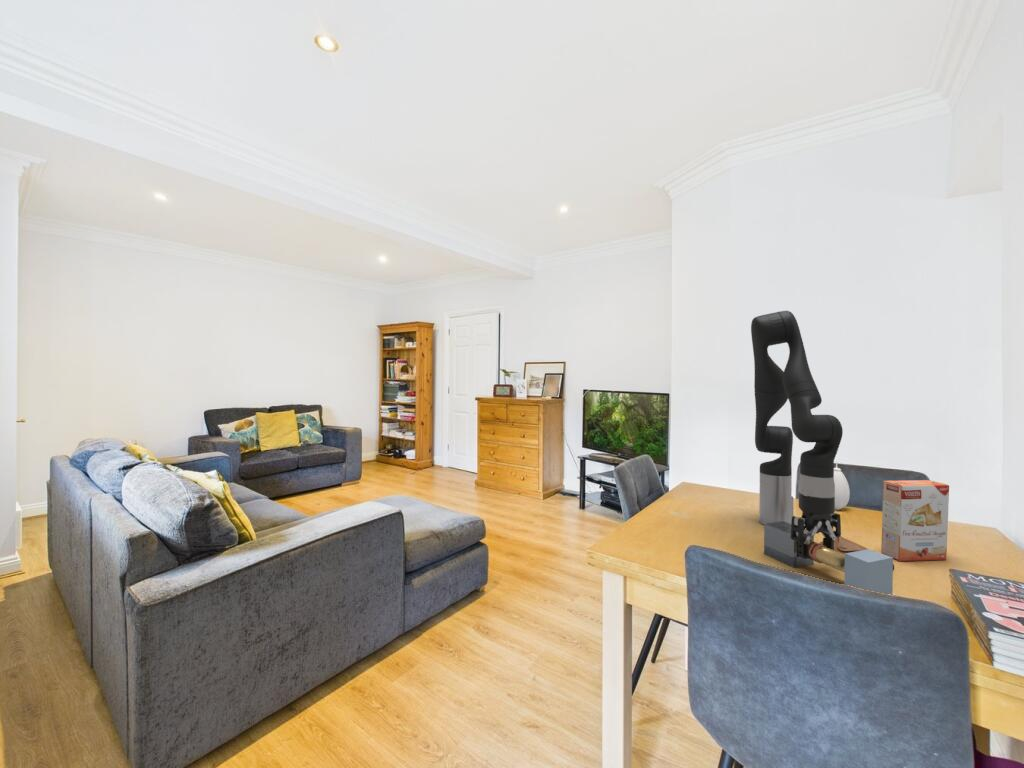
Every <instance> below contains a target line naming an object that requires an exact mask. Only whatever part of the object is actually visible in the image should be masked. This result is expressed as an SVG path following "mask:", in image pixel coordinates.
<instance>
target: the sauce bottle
mask: <svg viewBox="0 0 1024 768" xmlns="http://www.w3.org/2000/svg"><path fill="white" fill-rule="evenodd" d="M834 483H835V510H836V511H840V510H842V509H843V508H845V507H846V506H847V505H848V503H849V500H850V495H851V494H850V492H851V490H850V485H849V482H848V480H847V478H846V476H845V474H844V473H843V471H842V469H841V468H840V467H838V461H836V462H835V467H834Z"/></svg>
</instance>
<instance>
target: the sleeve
mask: <svg viewBox="0 0 1024 768" xmlns="http://www.w3.org/2000/svg"><path fill="white" fill-rule="evenodd" d="M805 531H807V529H806V528H805ZM808 532H809V531H808ZM797 535H798V532H796V536H797ZM805 537H806V535H804V536H803V538H804V539H805ZM814 539H815V536H814V537H813V538H811V539H810V541H811V542H815V540H814ZM763 554H764V555H765V556H767V557H770V558H772V559H774V560H776V561H779V563H780V562H781V563H782V564H785V565H788V566H790V567H791V568H799V567H804V566H810V565H814V561H813V560H811V559H809V558H808V559H804V558H802V557H800V556H799V555H798V553H797V541H795V540H792V539H791V524H790V523H787V522H784V521H780V522H773V523H766V524H763Z"/></svg>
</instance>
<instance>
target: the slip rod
mask: <svg viewBox="0 0 1024 768" xmlns="http://www.w3.org/2000/svg"><path fill="white" fill-rule="evenodd" d="M819 543H820V542H817V541H814V542H811V541H809V543H808V544H809V559H811V560H813V562H816V563H819V564H824V565H826V566H828V567H830V568H831V567H832V568H833V569H836V570H838V571H841V572H843V573H845V554H842V553H840V552H837V551H834V550H832V549H829V548H827V547H826V546H824V545H822V544H819ZM797 553H798V542H797Z"/></svg>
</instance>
